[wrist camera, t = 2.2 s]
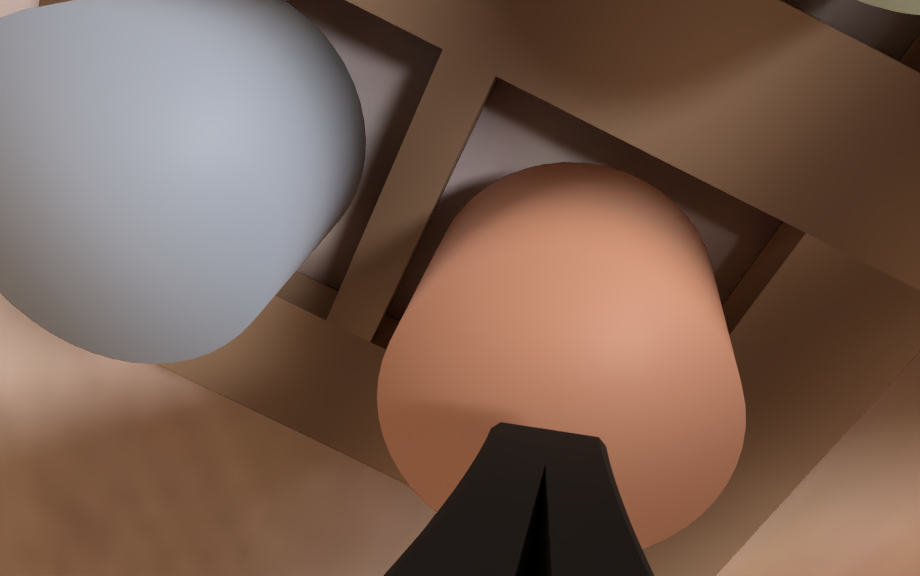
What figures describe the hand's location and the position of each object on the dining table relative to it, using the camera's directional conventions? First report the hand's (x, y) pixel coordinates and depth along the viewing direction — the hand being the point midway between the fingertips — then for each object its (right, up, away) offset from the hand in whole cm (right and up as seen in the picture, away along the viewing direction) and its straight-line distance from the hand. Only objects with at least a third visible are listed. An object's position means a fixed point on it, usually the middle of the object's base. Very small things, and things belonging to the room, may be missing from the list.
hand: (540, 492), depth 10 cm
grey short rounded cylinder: (-5, +6, +5) cm, 9 cm away
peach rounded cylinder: (+1, +2, +5) cm, 6 cm away
